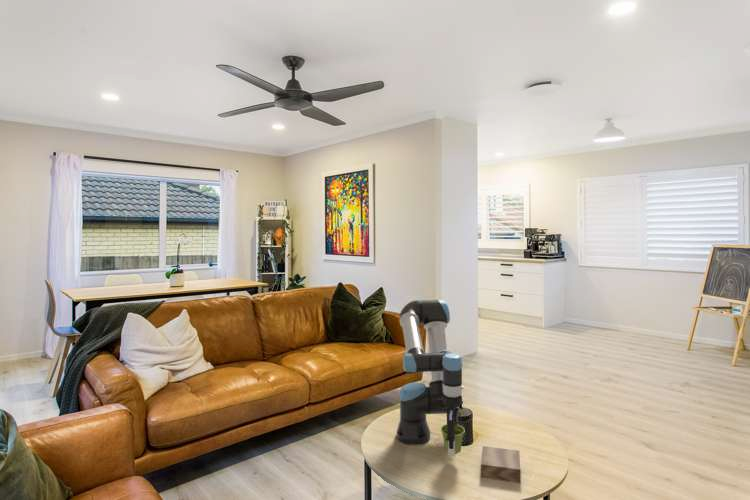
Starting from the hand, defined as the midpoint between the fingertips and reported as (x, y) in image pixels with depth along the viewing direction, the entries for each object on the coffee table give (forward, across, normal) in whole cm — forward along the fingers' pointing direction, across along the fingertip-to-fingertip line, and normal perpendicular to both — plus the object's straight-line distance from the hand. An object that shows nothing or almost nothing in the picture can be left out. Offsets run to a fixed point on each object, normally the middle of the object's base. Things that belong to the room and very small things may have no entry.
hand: (453, 449), depth 169 cm
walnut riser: (+5, -1, -18) cm, 19 cm away
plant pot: (0, 0, 0) cm, 0 cm away
